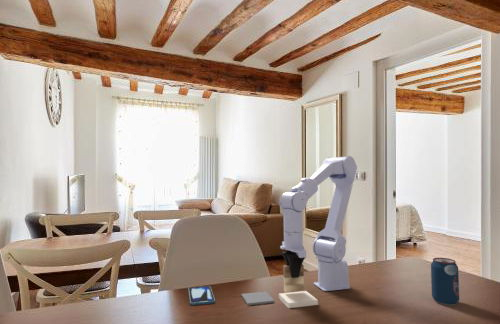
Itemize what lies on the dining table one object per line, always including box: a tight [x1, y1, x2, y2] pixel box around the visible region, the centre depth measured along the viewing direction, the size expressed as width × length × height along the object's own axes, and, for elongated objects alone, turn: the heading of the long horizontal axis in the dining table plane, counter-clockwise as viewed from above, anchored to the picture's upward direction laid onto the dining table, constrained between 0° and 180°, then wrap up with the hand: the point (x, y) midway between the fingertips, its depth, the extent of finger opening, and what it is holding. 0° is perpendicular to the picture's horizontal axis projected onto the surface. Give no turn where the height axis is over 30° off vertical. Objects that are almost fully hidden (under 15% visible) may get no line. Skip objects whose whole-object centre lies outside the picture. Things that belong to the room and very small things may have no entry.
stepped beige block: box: [282, 263, 305, 293], centre depth 102 cm, size 6×2×8 cm, turn 105°
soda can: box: [430, 257, 460, 306], centre depth 98 cm, size 7×7×12 cm
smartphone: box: [187, 285, 216, 306], centre depth 104 cm, size 7×1×15 cm
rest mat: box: [240, 291, 275, 306], centre depth 101 cm, size 8×8×1 cm
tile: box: [278, 290, 319, 309], centre depth 99 cm, size 9×2×8 cm
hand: (293, 276), depth 102 cm, fingers closed on stepped beige block, 2 cm apart
